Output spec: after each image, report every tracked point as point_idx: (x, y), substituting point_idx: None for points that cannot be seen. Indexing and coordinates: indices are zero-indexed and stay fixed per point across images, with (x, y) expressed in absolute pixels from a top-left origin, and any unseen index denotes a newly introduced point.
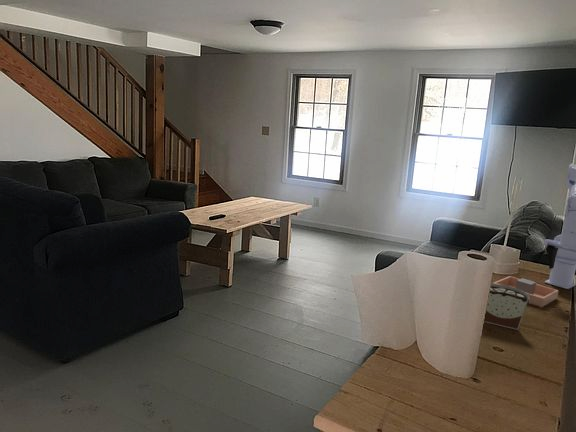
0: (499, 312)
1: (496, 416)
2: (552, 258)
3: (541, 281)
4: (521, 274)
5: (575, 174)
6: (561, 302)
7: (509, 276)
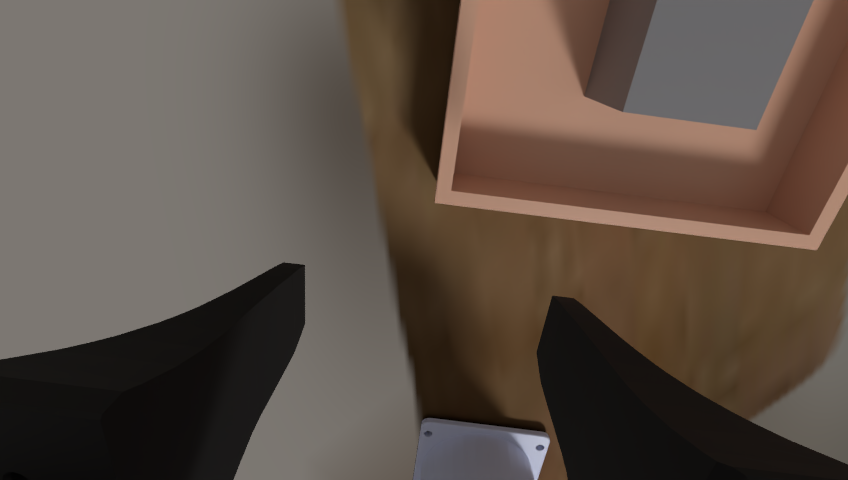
0: None
1: None
2: (605, 380)
3: None
4: None
5: None
6: (396, 131)
7: (821, 232)
